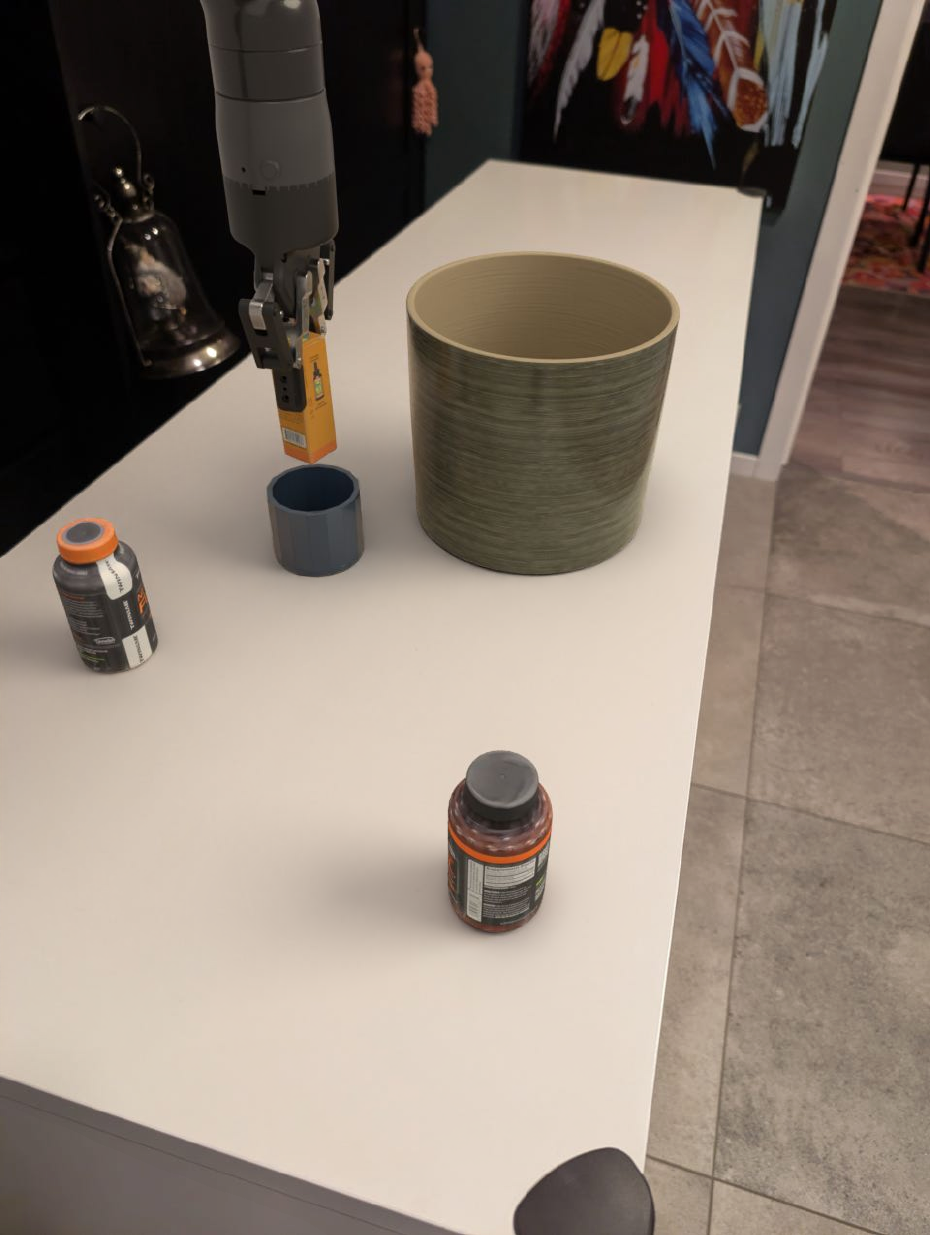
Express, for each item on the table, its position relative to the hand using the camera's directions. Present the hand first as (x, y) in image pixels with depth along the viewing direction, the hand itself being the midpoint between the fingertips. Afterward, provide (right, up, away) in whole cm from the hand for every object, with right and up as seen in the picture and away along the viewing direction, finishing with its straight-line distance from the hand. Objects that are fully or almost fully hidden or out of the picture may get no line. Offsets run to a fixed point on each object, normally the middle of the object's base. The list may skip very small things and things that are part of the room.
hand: (302, 394), depth 75 cm
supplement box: (0, -4, +4) cm, 5 cm away
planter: (+19, -7, +16) cm, 26 cm away
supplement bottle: (+15, -35, -16) cm, 41 cm away
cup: (0, -12, +10) cm, 15 cm away
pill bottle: (-14, -20, 0) cm, 25 cm away
